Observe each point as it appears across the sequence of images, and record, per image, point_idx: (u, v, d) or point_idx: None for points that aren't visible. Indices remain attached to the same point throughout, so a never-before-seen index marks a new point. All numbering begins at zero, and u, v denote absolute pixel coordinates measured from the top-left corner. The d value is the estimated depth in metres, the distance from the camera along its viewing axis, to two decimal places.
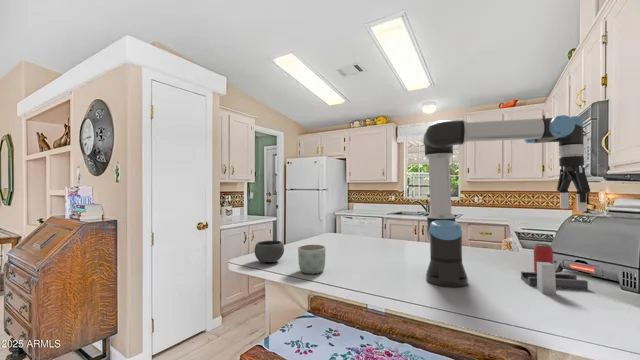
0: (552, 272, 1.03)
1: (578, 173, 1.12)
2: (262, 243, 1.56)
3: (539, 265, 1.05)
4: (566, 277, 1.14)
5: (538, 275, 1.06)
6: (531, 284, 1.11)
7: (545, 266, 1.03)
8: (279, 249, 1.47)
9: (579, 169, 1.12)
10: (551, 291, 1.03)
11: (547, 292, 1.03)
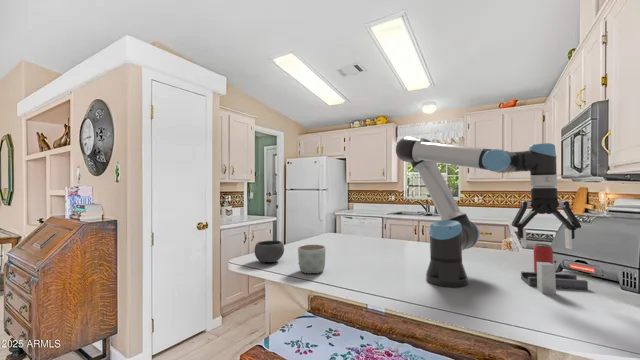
0: (552, 272, 1.03)
1: (520, 207, 1.08)
2: (262, 243, 1.56)
3: (539, 265, 1.05)
4: (566, 277, 1.14)
5: (538, 275, 1.06)
6: (531, 284, 1.11)
7: (545, 266, 1.03)
8: (279, 249, 1.47)
9: (521, 203, 1.08)
10: (551, 291, 1.03)
11: (547, 292, 1.03)
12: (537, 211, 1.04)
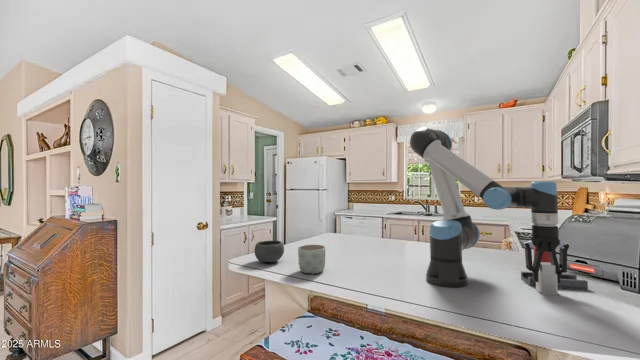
0: (552, 272, 1.03)
1: (525, 248, 1.08)
2: (262, 243, 1.56)
3: None
4: (566, 277, 1.14)
5: None
6: (531, 284, 1.11)
7: (545, 266, 1.03)
8: (279, 249, 1.47)
9: (523, 244, 1.07)
10: (551, 291, 1.03)
11: (547, 292, 1.03)
12: (542, 250, 1.04)
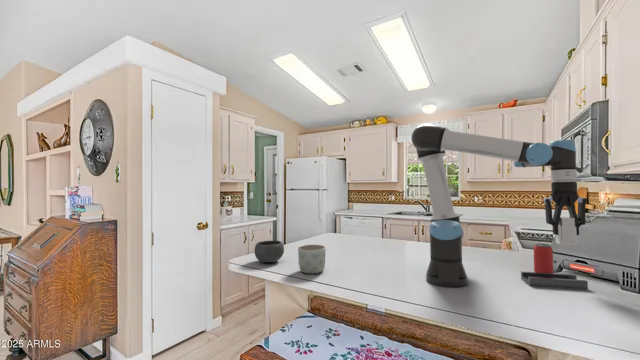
0: (572, 224, 1.10)
1: (545, 204, 1.15)
2: (262, 243, 1.56)
3: None
4: (566, 277, 1.14)
5: None
6: (531, 284, 1.11)
7: (565, 219, 1.10)
8: (279, 249, 1.47)
9: (544, 200, 1.14)
10: (571, 242, 1.10)
11: (567, 243, 1.10)
12: (561, 205, 1.11)
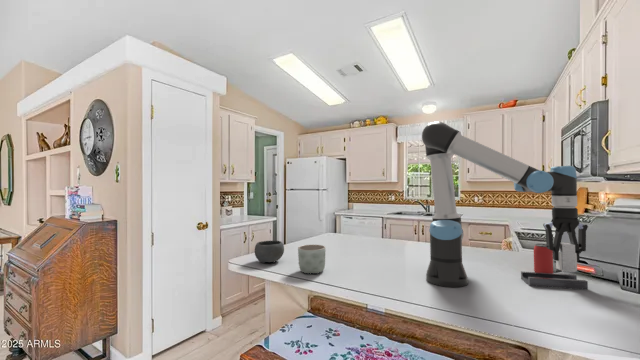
0: (572, 251, 1.10)
1: (545, 229, 1.14)
2: (262, 243, 1.56)
3: None
4: (566, 277, 1.14)
5: None
6: (531, 284, 1.11)
7: (565, 245, 1.10)
8: (279, 249, 1.47)
9: (544, 226, 1.14)
10: (571, 269, 1.10)
11: (567, 270, 1.10)
12: (562, 231, 1.11)
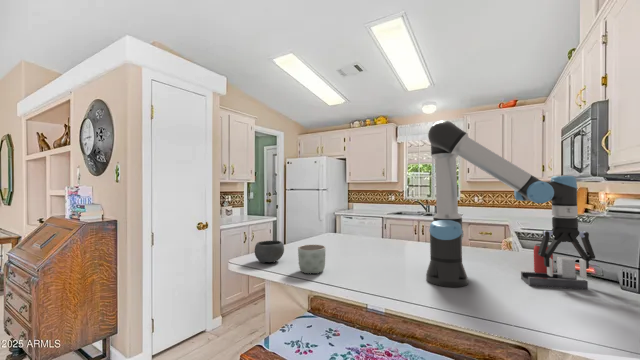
0: (572, 266, 1.10)
1: (543, 236, 1.15)
2: (262, 243, 1.56)
3: (559, 259, 1.12)
4: None
5: (559, 269, 1.13)
6: (531, 284, 1.11)
7: (565, 260, 1.10)
8: (279, 249, 1.47)
9: (543, 232, 1.14)
10: None
11: None
12: (560, 240, 1.11)
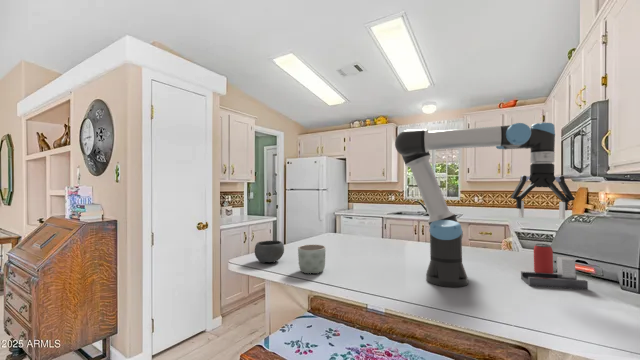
0: (572, 266, 1.10)
1: (520, 181, 1.19)
2: (262, 243, 1.56)
3: (559, 260, 1.12)
4: None
5: (559, 269, 1.13)
6: (531, 284, 1.11)
7: (565, 260, 1.10)
8: (279, 249, 1.47)
9: (521, 177, 1.18)
10: None
11: None
12: (535, 184, 1.15)
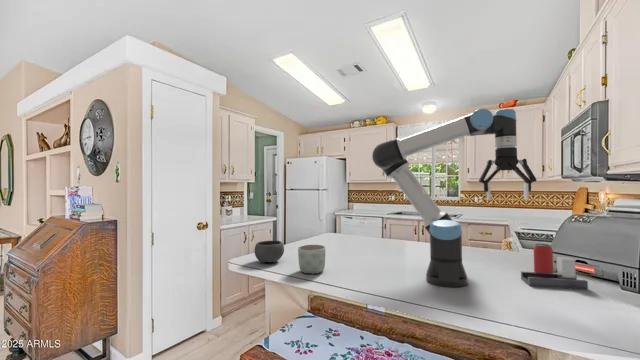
0: (572, 266, 1.10)
1: None
2: (262, 243, 1.56)
3: (559, 259, 1.12)
4: None
5: (559, 269, 1.13)
6: (531, 284, 1.11)
7: (565, 260, 1.10)
8: (279, 249, 1.47)
9: (487, 161, 1.24)
10: None
11: None
12: (500, 168, 1.21)
